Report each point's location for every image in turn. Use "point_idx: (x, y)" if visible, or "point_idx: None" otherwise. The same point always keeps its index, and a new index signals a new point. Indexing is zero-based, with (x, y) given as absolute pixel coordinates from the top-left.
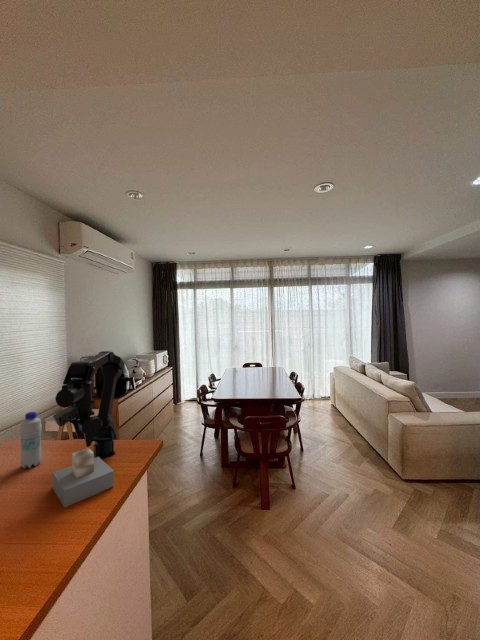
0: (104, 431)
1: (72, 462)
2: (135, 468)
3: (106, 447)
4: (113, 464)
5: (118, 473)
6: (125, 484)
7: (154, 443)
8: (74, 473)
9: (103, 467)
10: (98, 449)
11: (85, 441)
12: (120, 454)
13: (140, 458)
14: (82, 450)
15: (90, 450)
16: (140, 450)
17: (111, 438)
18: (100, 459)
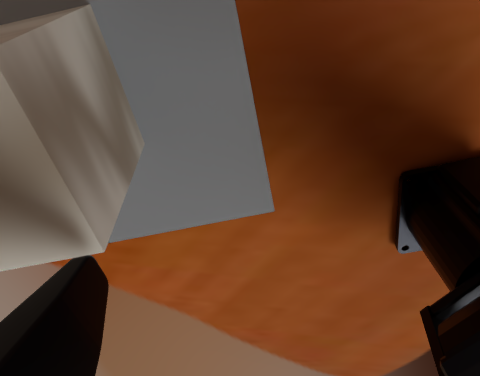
0: (474, 374)
1: (28, 27)
2: (169, 292)
3: (432, 249)
4: (280, 226)
5: (162, 233)
6: None
7: (358, 370)
8: (3, 25)
9: None
10: (457, 207)
11: (29, 319)
12: (371, 263)
13: (255, 318)
14: (53, 191)
15: (12, 264)
16: (337, 328)
17: (426, 328)
18: (213, 218)
